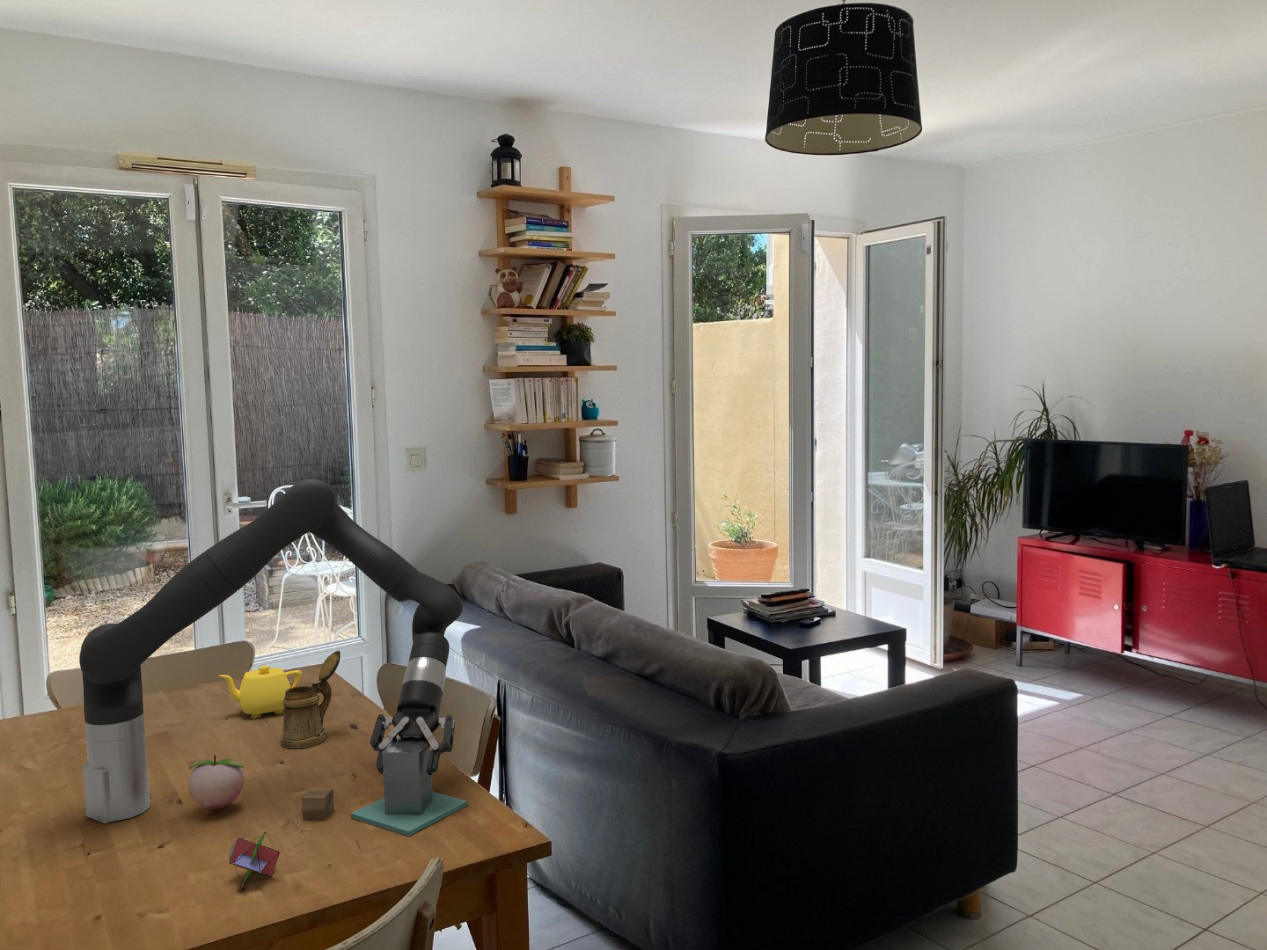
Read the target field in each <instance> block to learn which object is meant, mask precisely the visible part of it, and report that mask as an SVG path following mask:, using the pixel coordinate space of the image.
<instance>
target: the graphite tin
mask: <svg viewBox="0 0 1267 950" xmlns="http://www.w3.org/2000/svg"><path fill="white" fill-rule="evenodd" d="M430 750H431V746H430V744H429V742H428V740H427V739H423V740H414V739H411V740H403V739H397V740H396V741H393V742H391V743H390V744H389V745H388V747H387V748H386V749H385V750H384V751H383V752H382V757H383V774H382V777H383V798H384V801H385V814H393V815H422V814H423V812H424V811H425V809H426V808H427V807H428V805H429V804H430V802H431V801H432V791H433V782H432V780H433V778H432V775H428V773H427V764H428V759H429V753H430Z"/></svg>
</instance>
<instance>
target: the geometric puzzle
mask: <svg viewBox="0 0 1267 950" xmlns="http://www.w3.org/2000/svg"><path fill="white" fill-rule="evenodd" d="M260 833H261V834H260V835H259V836H257V837H256V838H254V840H252V841H250V840H246V839H244V838H245V837H246V835H245V836H243V837H244V838H243V837H242V836H241V837H237V838H236V840H235V841H234V842H233V844H232V845H231V847H230V848H229V852H228V853H229V854H228V855H229V856H228V864H229V865H233V866H234V868H235V870H234V869H233V867H231V869H232V870H233V872H234V873H235V875H237V877H238V879H239V881H240V883H241V884H242V886H244V885H245V884H248V882H249V881H251V880H252V879H254V878H255V877H256V876H258V875H259V874H260V875H262V876H266V878H264V879H265V880H267V877H268V879H270V878H273V874H274V871H275V868H276V866H277V863H278V860H279V856H280V853H281V851H280V850H277V849H275V848H274V846H273V845H271V846H272V848H271V847H268V846H264V844H263V841H264V838H265V835H266V836H268V839H269V842H270V843H272V842H273V843H272V844H275V842H274V841H273V839H272V838H271V836H270V835H269V834H268V832H267V830H265V831H263V832H260ZM258 834H259V832H257V833H256V835H258ZM258 838H260V839H259V840H258V841H257V842H254V841H256V839H258ZM270 839H271V840H270ZM271 841H272V842H271ZM262 844H263V845H262ZM236 867H238V868H241V869H244V870H247V871H246V874H245V877H244V880H243V881H242V880H241V878H240V875H239V872H238V870H237V869H236ZM235 871H236V872H235ZM252 873H255V875H254V876H252V877H251V878H249V877H250V876H251V874H252ZM261 880H263V879H262V878H261V879H260V881H261ZM256 881H259V879H257V880H256ZM253 882H254V881H252V883H253Z"/></svg>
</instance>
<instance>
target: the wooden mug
mask: <svg viewBox="0 0 1267 950" xmlns="http://www.w3.org/2000/svg"><path fill="white" fill-rule="evenodd" d="M341 658H342V657H341V651H340V650H337V651H335V652H333V653H331V654H330V655H328V656H327V657H326V658H325V660H324V661H323V663H322V666H321V667H320V670H319V672H318V673H319V674H318V680H317V681H314V682H313V683H311V686H307V685H299V686H298V685H297V686H296V687H293V688H289V689H287V690H286V692H285V698H284V701H283V706H285V709H283V711H284V713H283V725H282V726H283V727H282V734H281V737H280V746H281V747H282V748H286V749H292V750H293V749H297V750H298V749H305V748H310V747H314V746H317V745H319V744H321V743H323V742H324V741H325V740H326V737H327V736H326V735H327V734H326V730H325V728H324V727H323V725H324V718H325V715H326V712H327V710H328V708H329V705H330V702H331V701H332V687H331V685H330V683H329V682H328V680H329V679H331V678H332V676H333V675H334V674H335V673H336V671H337V670H338V667H339V664H340V661H341ZM317 694H321V695H322V696H323V700H322V702H321V703H320V704H319V701H320V696H319V695H317Z"/></svg>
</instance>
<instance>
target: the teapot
mask: <svg viewBox="0 0 1267 950" xmlns="http://www.w3.org/2000/svg"><path fill="white" fill-rule="evenodd" d="M257 668H258V669H256V670H254V669H253V670H250V671H246V672H245V673H244V675H243V677H242V680H241V682H240V686H239V687H240V688H239V689H237V687H236V686H235V681H234V679H233V677H231V676H230V675H228V674H219V675H218V676H219V677H221V678H222V679H224V680H225V682H226V683H227V686H228V691H229V695H230V697H231V699H233V700H234V701H235V702H237V703H238V704H239V707H240V709H241V711H242V712H243V713H244V714H247V715H251V716H250V718H251V719H258V718H257V717H259V718H260V716H261V715H262V714H268V713H272V712H274V715H276V714H280V715H283V714H284V709H285V706H283V701H284V698H285V692H286V690H287V689H289V688H293V687H298V685H299V683H300V682H301V680H302V677H303V671H302V670H300V669H294V670H290V671H286V672H285V671H284V669H282V668H281V667H271V668H270V665H261V666H258V667H257ZM288 676H294V677H295V678H294V680H293V683H292V685H291V684H290V681H289V679H288ZM282 713H283V714H282ZM261 717H262V716H261Z"/></svg>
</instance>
